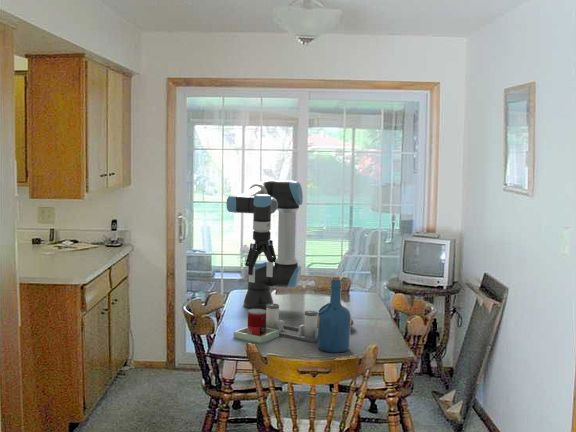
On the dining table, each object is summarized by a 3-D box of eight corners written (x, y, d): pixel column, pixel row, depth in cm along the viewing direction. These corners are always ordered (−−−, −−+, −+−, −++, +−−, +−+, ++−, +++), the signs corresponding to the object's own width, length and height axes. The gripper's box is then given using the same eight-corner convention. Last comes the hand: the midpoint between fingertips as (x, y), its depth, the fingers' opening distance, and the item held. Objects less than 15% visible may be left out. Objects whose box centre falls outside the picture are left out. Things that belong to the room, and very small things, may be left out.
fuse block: (253, 330, 306) (253, 320, 305) (269, 324, 317) (269, 314, 316) (313, 342, 289) (314, 332, 289) (329, 336, 300) (329, 326, 300)
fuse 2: (301, 337, 297) (302, 312, 296) (308, 334, 302) (308, 309, 300) (312, 339, 294) (313, 314, 293) (319, 336, 299) (320, 311, 298)
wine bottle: (347, 344, 289) (350, 273, 285) (351, 354, 275) (354, 280, 272) (315, 343, 288) (317, 273, 285) (317, 353, 275) (320, 279, 272)
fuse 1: (263, 329, 307) (264, 305, 306) (269, 326, 312) (270, 302, 311) (274, 331, 305) (275, 307, 303) (280, 328, 309) (281, 304, 308)
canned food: (263, 339, 290) (264, 313, 289) (245, 337, 292) (245, 312, 290) (267, 334, 298) (268, 309, 296) (249, 332, 299) (250, 307, 298)
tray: (233, 338, 292) (233, 331, 292) (252, 331, 304) (252, 324, 304) (260, 344, 285) (260, 337, 285) (278, 336, 297) (279, 330, 297)
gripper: (252, 235, 282) (251, 285, 285) (284, 228, 303) (283, 275, 306) (237, 233, 286) (236, 283, 289) (270, 226, 307) (269, 273, 310)
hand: (260, 279), depth 297 cm, fingers open, 13 cm apart
